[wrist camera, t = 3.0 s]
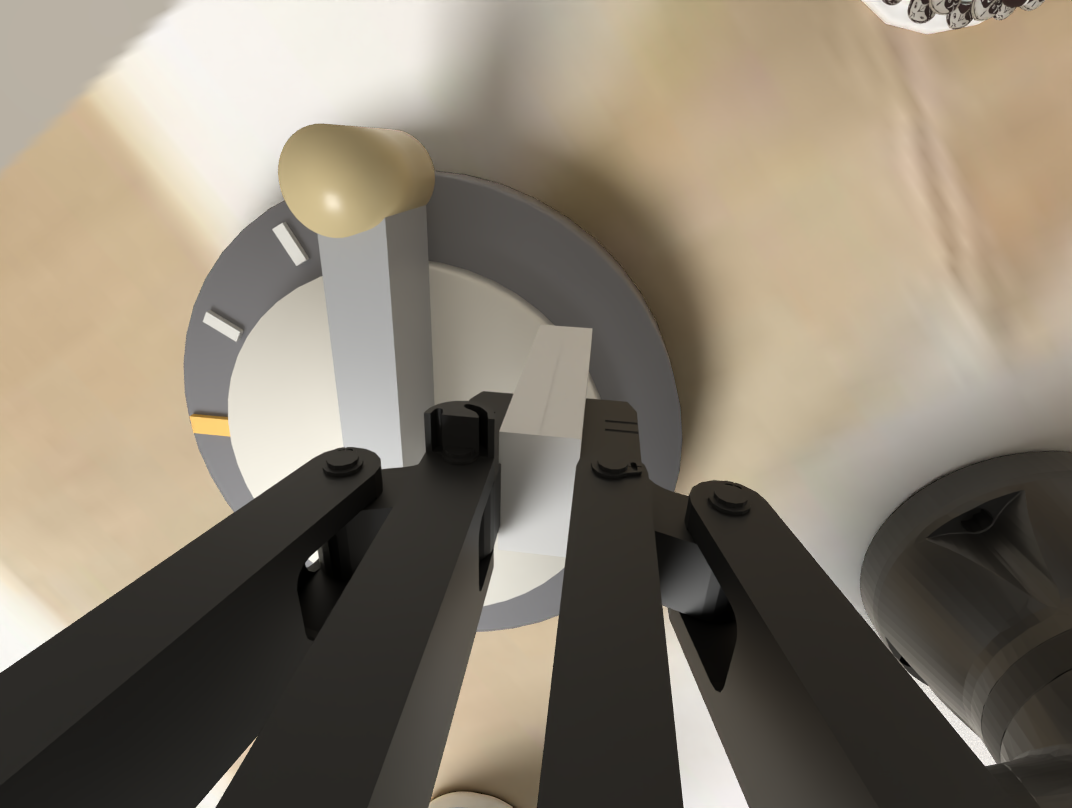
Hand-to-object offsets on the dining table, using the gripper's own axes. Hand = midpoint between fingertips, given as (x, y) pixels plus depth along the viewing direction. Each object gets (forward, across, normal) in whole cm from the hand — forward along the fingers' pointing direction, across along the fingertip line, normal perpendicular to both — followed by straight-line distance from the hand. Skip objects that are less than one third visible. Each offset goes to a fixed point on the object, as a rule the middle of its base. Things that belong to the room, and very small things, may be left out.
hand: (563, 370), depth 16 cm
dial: (+9, +7, +6) cm, 13 cm away
